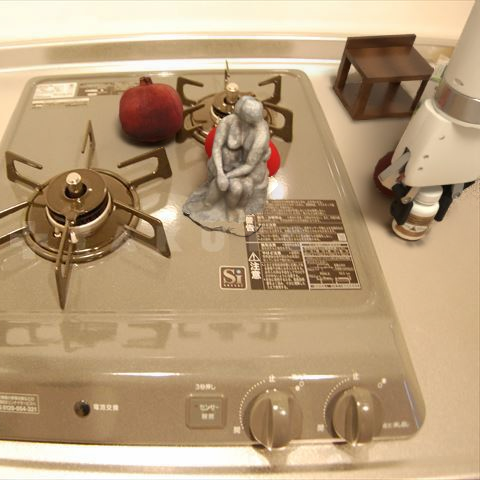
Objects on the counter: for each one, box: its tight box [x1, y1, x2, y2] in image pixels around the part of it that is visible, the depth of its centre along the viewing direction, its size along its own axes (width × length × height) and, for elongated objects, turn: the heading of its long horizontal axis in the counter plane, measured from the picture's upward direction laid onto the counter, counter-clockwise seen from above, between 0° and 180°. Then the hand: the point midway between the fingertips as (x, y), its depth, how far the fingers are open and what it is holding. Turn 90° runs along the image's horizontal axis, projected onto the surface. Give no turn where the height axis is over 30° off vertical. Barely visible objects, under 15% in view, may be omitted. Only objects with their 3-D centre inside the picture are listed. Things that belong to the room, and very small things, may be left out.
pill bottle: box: [391, 185, 443, 241], centre depth 72 cm, size 4×4×8 cm
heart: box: [204, 125, 281, 178], centre depth 79 cm, size 12×5×10 cm, turn 62°
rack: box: [332, 33, 435, 121], centre depth 93 cm, size 12×10×10 cm
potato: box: [372, 149, 409, 199], centre depth 78 cm, size 7×8×7 cm
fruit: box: [118, 76, 185, 143], centre depth 85 cm, size 11×10×10 cm
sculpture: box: [181, 95, 271, 234], centre depth 71 cm, size 11×18×12 cm
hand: (415, 215), depth 73 cm, fingers closed on pill bottle, 4 cm apart
